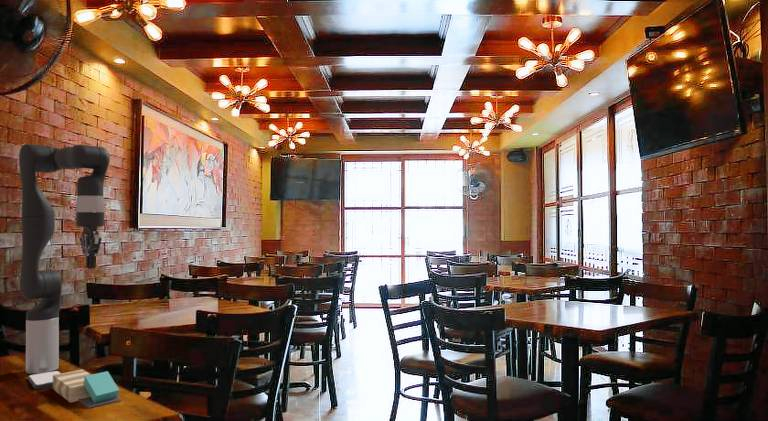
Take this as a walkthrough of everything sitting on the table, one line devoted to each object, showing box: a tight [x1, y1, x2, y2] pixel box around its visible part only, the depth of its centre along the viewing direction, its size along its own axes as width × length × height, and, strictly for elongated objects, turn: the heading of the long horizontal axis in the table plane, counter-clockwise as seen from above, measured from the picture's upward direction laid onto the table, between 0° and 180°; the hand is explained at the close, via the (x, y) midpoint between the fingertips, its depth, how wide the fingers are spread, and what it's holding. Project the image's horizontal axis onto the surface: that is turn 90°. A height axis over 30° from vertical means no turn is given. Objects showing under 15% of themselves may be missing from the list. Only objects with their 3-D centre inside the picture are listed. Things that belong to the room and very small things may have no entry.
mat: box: [77, 396, 122, 409], centre depth 145 cm, size 9×8×1 cm
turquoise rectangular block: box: [83, 370, 120, 403], centre depth 146 cm, size 8×6×2 cm
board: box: [52, 369, 92, 404], centre depth 153 cm, size 18×8×4 cm, turn 45°
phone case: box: [27, 370, 61, 390], centre depth 164 cm, size 9×2×16 cm
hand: (90, 268), depth 161 cm, fingers closed
